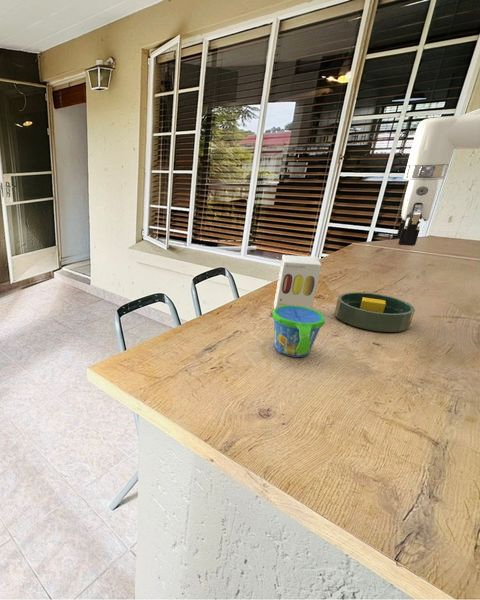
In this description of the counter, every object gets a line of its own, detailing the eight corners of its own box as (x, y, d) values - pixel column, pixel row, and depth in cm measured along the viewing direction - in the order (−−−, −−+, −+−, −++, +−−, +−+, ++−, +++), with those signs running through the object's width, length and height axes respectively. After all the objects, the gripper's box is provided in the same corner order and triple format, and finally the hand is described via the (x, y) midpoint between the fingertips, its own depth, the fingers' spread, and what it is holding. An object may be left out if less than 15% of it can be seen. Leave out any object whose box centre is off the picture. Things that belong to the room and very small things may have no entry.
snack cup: (322, 371, 78) (332, 330, 74) (269, 363, 82) (276, 324, 78) (310, 339, 91) (318, 303, 87) (265, 334, 95) (270, 299, 91)
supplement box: (273, 315, 106) (282, 261, 100) (272, 304, 113) (280, 254, 107) (311, 319, 102) (322, 264, 96) (307, 307, 109) (317, 255, 103)
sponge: (380, 318, 99) (385, 300, 97) (380, 322, 96) (385, 304, 94) (358, 314, 102) (362, 297, 100) (357, 318, 99) (362, 300, 97)
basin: (406, 316, 100) (412, 298, 98) (410, 339, 88) (417, 319, 86) (336, 305, 110) (340, 288, 108) (331, 324, 98) (335, 306, 96)
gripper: (452, 174, 77) (428, 249, 84) (441, 170, 90) (421, 236, 96) (407, 175, 82) (387, 246, 88) (402, 171, 94) (385, 234, 101)
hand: (405, 241), depth 92 cm, fingers open, 9 cm apart
